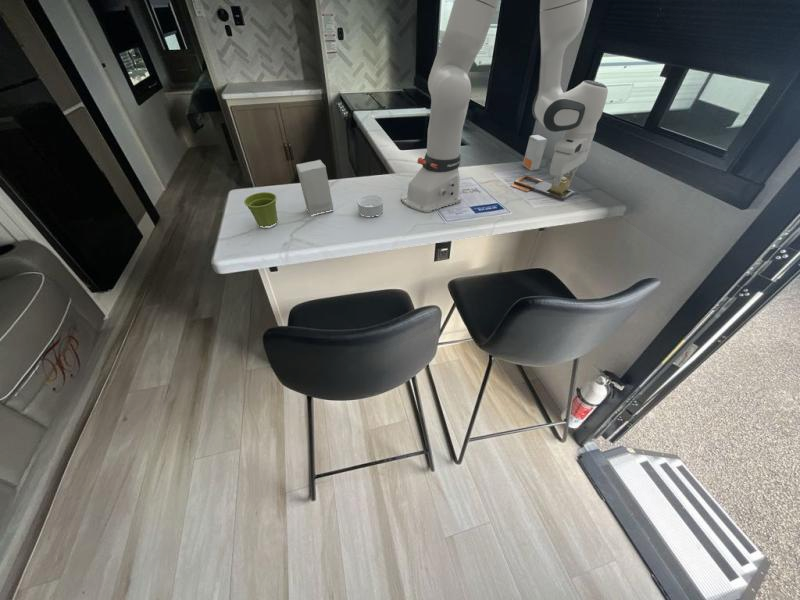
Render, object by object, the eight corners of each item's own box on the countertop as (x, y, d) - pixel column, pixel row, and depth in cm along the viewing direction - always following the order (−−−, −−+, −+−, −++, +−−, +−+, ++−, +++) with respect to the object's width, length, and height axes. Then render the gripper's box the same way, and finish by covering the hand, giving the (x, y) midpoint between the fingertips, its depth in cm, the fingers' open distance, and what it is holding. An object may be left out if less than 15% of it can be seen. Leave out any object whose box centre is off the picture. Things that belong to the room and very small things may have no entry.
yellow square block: (560, 198, 116) (566, 182, 112) (548, 194, 118) (553, 178, 114) (566, 194, 118) (572, 178, 114) (554, 190, 120) (560, 174, 116)
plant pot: (288, 224, 104) (281, 199, 98) (261, 235, 99) (252, 209, 93) (274, 214, 109) (267, 189, 103) (248, 224, 104) (238, 198, 98)
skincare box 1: (329, 204, 114) (321, 158, 103) (334, 212, 110) (327, 166, 99) (305, 209, 111) (295, 163, 101) (310, 217, 107) (299, 170, 96)
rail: (559, 203, 112) (560, 200, 112) (509, 185, 123) (510, 182, 122) (573, 194, 118) (574, 190, 117) (524, 177, 129) (525, 174, 128)
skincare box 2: (522, 165, 138) (529, 135, 129) (530, 164, 139) (538, 134, 130) (530, 170, 133) (538, 140, 125) (539, 169, 134) (547, 139, 126)
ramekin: (355, 209, 111) (353, 197, 108) (379, 204, 114) (378, 192, 111) (362, 221, 105) (361, 209, 102) (387, 216, 108) (387, 204, 105)
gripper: (581, 130, 112) (568, 170, 122) (552, 145, 102) (540, 187, 112) (600, 134, 109) (585, 175, 118) (571, 150, 99) (557, 193, 108)
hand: (563, 181), depth 115 cm, fingers open, 8 cm apart
